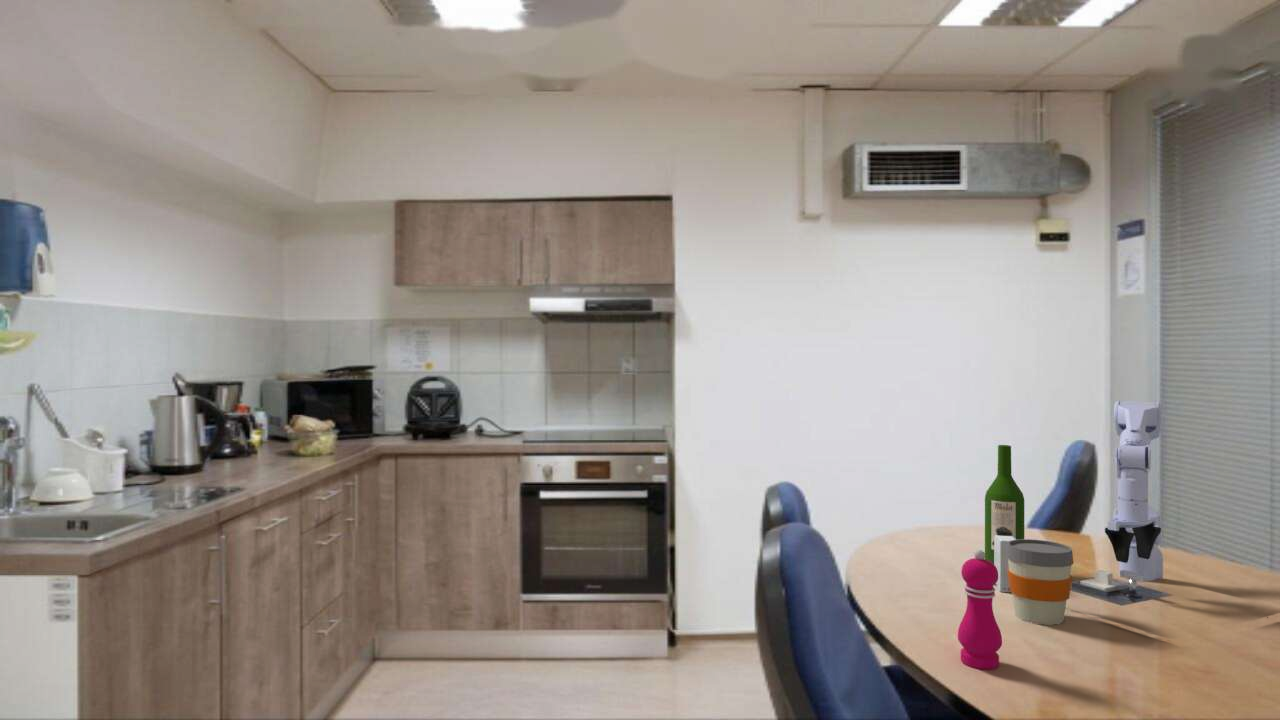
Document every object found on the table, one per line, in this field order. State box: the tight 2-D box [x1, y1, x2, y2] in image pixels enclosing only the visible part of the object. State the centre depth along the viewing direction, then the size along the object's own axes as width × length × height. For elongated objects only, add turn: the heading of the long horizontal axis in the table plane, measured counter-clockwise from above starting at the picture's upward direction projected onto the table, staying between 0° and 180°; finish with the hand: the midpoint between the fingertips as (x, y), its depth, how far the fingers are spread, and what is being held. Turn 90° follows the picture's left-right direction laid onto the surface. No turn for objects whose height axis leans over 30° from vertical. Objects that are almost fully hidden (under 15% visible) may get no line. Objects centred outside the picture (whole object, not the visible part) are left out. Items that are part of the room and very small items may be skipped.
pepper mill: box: [957, 549, 1003, 670], centre depth 135 cm, size 7×7×20 cm
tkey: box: [1111, 570, 1147, 594], centre depth 171 cm, size 1×7×5 cm, turn 25°
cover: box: [1079, 569, 1124, 591], centre depth 177 cm, size 8×6×4 cm
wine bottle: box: [984, 444, 1025, 564], centre depth 191 cm, size 9×9×32 cm
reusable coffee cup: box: [1006, 538, 1075, 626], centre depth 159 cm, size 13×13×15 cm
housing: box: [1070, 577, 1173, 606], centre depth 175 cm, size 18×16×2 cm
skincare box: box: [994, 535, 1016, 593], centre depth 179 cm, size 6×4×12 cm
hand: (1132, 559), depth 171 cm, fingers open, 7 cm apart
